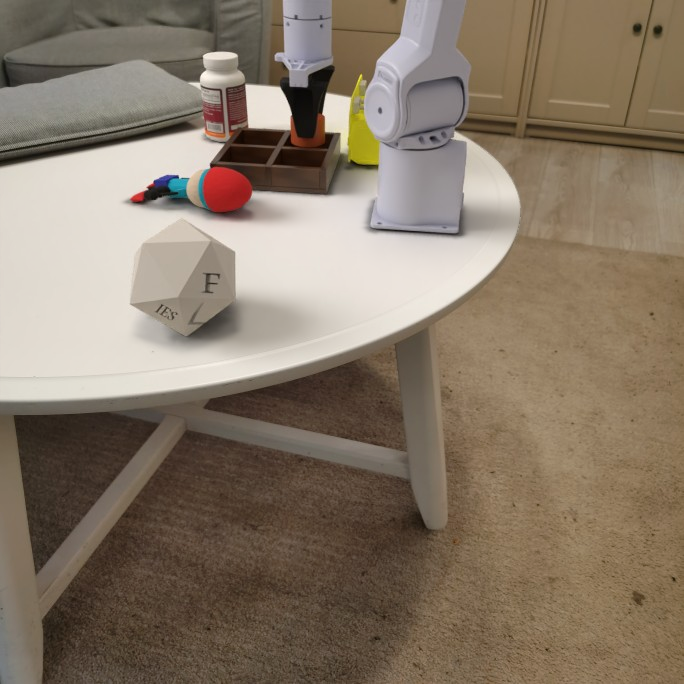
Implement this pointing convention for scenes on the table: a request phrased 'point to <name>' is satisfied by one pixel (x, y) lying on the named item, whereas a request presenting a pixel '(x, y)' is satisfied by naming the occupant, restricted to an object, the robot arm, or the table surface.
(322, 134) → the orange short cylinder
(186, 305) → the die
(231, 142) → the grid
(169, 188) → the toy figure
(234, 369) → the table surface
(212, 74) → the pill bottle
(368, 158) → the yellow toy chassis
